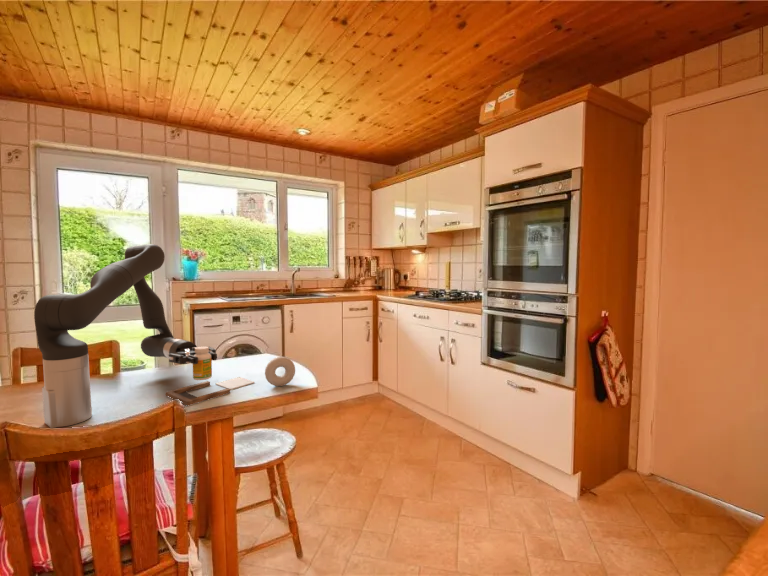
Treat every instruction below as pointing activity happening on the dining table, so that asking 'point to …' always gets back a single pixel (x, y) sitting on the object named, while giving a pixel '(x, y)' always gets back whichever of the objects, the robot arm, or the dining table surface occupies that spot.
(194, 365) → the supplement bottle
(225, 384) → the pad
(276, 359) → the donut
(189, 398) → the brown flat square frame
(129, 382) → the dining table surface
